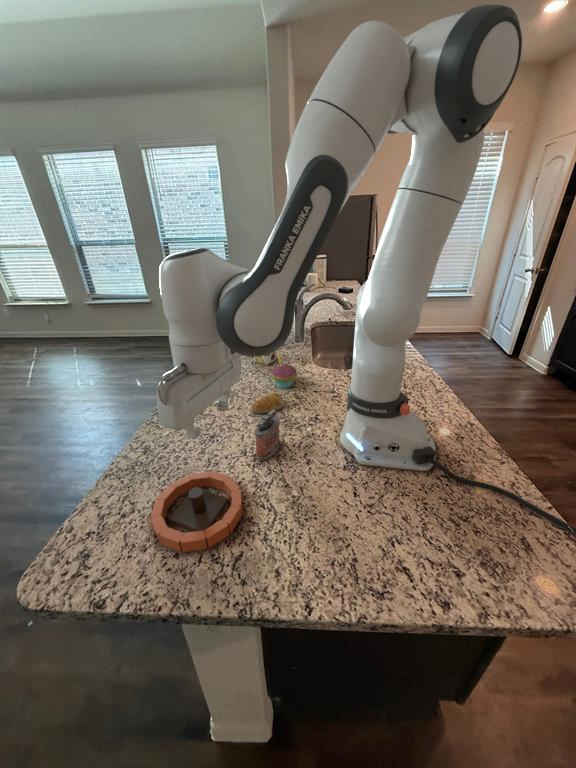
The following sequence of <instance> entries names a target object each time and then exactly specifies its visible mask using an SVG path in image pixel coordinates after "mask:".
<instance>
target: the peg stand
mask: <svg viewBox="0 0 576 768" xmlns="http://www.w3.org/2000/svg"><path fill="white" fill-rule="evenodd" d="M228 503H229V498H227V497H225V496H220V495H218V494H216V493H212V492H209V491H206V490H204V489H202V487H200V488H194V489H192V490H190V491H188V494H187V496H186V497H185V498H184V499H183V500H182V501H181V503H180V504H179V505H178V506H177V507H176V508H175V510H174V511H173V512H172V513H171V514H170V515H169V517H167V519H168V523H170V524H172V525H175V526H179V527H181V528H184V529H186V530H189V531H191V532H196V531H203V530H205V529H207V528H209V527H210V526H212V525H214V524H215V523H216V521H217V519H218V518H219V516H220V515H221V513H223V510H224V509H225V508H226V506H227V505H228Z"/></svg>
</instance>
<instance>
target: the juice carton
mask: <svg viewBox="0 0 576 768" xmlns="http://www.w3.org/2000/svg"><path fill="white" fill-rule="evenodd" d="M277 357H278V352H277V350H276V351H274V352H272V353H270V354H267V355H264V356H258V357H253V361H254V363H258V364H261V365H265V366H267V365H269V364H270V363H272V362H274V361H276V360H277Z"/></svg>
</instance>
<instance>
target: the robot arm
mask: <svg viewBox="0 0 576 768" xmlns="http://www.w3.org/2000/svg"><path fill="white" fill-rule="evenodd" d="M522 35H523V34H522V29H521V24H520V20H519V17H518V14H517V13H516V11H515V10H514V9H513V8H511V7H509V6H506V5H503V4H484V5H483V4H482V5H477V6H474V7H471V8H470V9H469V10H467V11H466V12H461V13H455V14H452V15H449V16H445V17H443V18H440V19H436V20H434V21H432V22H429V23H427V24H426V25H425V26H423V27H422V28H420V29H418V30H416V31H414V32H412V33H410V34H408V35H407V36H405V37H403V36H402V35H401V33H400V32H399V31H398V30H397V29H396V28H394V27H393V26H392V25H391V24H389V23H387V22H384V21H380V20H367V21H365V22H362V23H361V24H359V25H357V26H356V27H355V28H354V29H353V30H352V31H351V32H350V33H349V35H348V36H347V38H346V39H345V40H344V41H343V42H342V44H341V45H340V47H339V48H338V50H337V51H336V53H335V54H334V55H333V57H332V58H331V60H330V62H329V63H328V65H327V66H326V68H325V70H324V72H323V73H322V75H321V76H320V78H319V80H318V82H317V84H316V85H315V87H314V88H313V91H312V93H311V95H310V97H309V99H308V100H307V103H306V104H305V106H304V108H303V110H302V112H301V114H300V117H299V120H298V121H297V123H296V126H295V129H294V132H293V135H292V136H291V137H292V138H291V140H290V144H289V147H288V151H287V154H286V158H285V172H286V179H287V191H286V197H285V201H284V205H283V207H282V210H281V212H280V215H279V217H278V219H277V221H276V223H275V225H274V227H273V229H272V231H271V234H270V236H269V237H268V240H267V241H266V244H265V246H264V248H263V250H262V252H261V254H260V256H259V258H258V260H257V262H256V264H255V266H254V267H253V269H249V268H246V267H242V266H241V265H238V264H235V263H232V262H230V261H228V260H226V259H224V258H223V257H221V256H219V255H218V254H216V253H215V252H213V251H212V250H211V249H209V248H206V247H197V248H195V247H194V248H189V249H185V250H180V251H177V252H173V253H171V254H169V255H168V256H166V257H165V258H164V259H163V260H162V262H161V264H160V265H159V270H158V274H159V275H158V277H159V278H158V279H159V289H160V297H161V303H162V309H163V315H164V316H165V318H166V320H167V322H168V323H167V324H168V327H169V333H168V341H169V347H170V352H171V356H172V358H171V359H172V363H173V367H174V368H173V369H172V370H170V371H167V372H165V373H164V374H162V375H161V379H160V381H159V382H158V384H157V386H156V406H157V415H158V421H159V424H160V425H161V426H162V427H164V428H166V429H170V430H173V431H182V430H185V431H186V436H187V438H188V439H191V440H196V439H197V438H198V437H199V436H200V435H201V434H202V433H201V428H200V426H199V425H194V424H195V423H196V422H195V421H196V418H197V417H198V416H200V415H201V414H202V413H203V412H205V411H206V410H207V409H208V408H209V407H210V406H212V405H213V404H214V402H215V405H216V410H217V411H218V412H223V413H224V412H226V410H228V409H229V398H230V395H231V388H232V387H234V386H235V385H236V384H237V383H238V382H239V381H240V380H241V376H242V359H241V356H245V357H250V358H251V357H253V358H254V357H258V356H264V355H267V354H270V353H272V352H274V351H276V352H277V350H279V349H280V348H281V347H282V346H283V345H284V344H285V343H286V341H287V340H288V338H289V336H290V334H291V332H292V329H293V325H294V319H295V311H296V310H295V309H296V305H297V300H298V297H299V294H300V292H301V289H302V287H303V284H304V283H305V281H306V279H307V277H308V275H309V273H310V271H311V269H312V267H313V265H314V264H315V261H316V260H317V257H318V256H319V253H320V251H321V250H322V248H323V246H324V244H325V242H326V240H327V238H328V236H329V234H330V232H331V230H332V229H333V226H334V224H335V222H336V220H337V218H338V217H339V214H340V213H341V211H342V209H343V208H344V206H345V204H346V203H347V201H348V200H349V198H350V196H351V194H352V193H353V192H354V191H355V189H356V187H357V185H358V184H359V183H360V181H361V180H362V177H364V174H365V173H366V171H367V170H368V168H369V167H370V165H371V163H372V161H373V159H374V158H375V156H376V154H377V152H378V151H379V148H380V147H381V146H382V144H383V141H384V140H385V138H386V136H387V134H390V135H394V134H398V133H400V134H411V153H410V158H409V160H408V163H407V165H406V166H405V169H404V171H403V174H402V176H401V179H400V182H399V184H398V187H397V189H396V192H395V195H394V198H393V202H392V204H391V207H390V210H389V211H388V215H387V218H386V220H385V224H384V225H383V229H382V232H381V235H380V238H379V242H378V244H377V248H376V252H375V256H374V259H373V262H372V265H371V269H370V271H369V275H368V278H367V279H366V281H364V282H363V284H362V285H361V287H360V288H359V290H358V292H357V297H356V308H355V310H356V311H355V323H354V336H353V337H354V338H353V349H352V351H353V352H352V365H351V374H350V375H351V376H350V385H349V388H348V391H347V395H346V415H345V416H346V417H345V421H344V424H343V426H342V429H341V431H340V433H339V441H340V444H341V446H342V447H343V448H344V449H345V450H346V451H347V452H349V453H350V454H351V455H352V456H353V457H354V459H355V460H356V461H357V463H358V464H360V465H363V466H371V467H381V468H390V469H391V468H392V469H400V470H401V469H402V470H410V471H412V470H413V471H419V472H428V471H429V470H431V469H432V468H433V466H434V467H436V468H437V469H438V470H440V471H441V472H443V473H444V474H446V476H448V477H449V478H451V479H453V480H454V481H457V482H459V483H462V484H464V485H465V484H466V485H468V486H469V485H470V486H473V487H479V488H483V489H488V490H490V491H494V492H496V493H499V494H501V495H504V496H506V497H508V498H509V499H512V500H513V501H515V502H517V503H519V504H521V505H523V506H524V507H526V508H528V509H530V510H531V511H532V512H535V513H536V514H538V515H540V516H541V517H543V518H546V519H547V520H549V521H551V522H553V523H555V524H556V525H558V526H560V527H561V528H563V529H565V530H567V531H568V532H570V533H572V534H573V535H576V527H574V526H572V525H570V524H569V523H567V522H565V521H564V520H562V519H560V518H558V517H556V516H555V515H552V514H550V513H549V512H547V511H545V510H543V509H541V508H539V507H537V506H535V505H534V504H532V503H530V502H529V501H526V500H525V499H523V498H522V497H519V496H518V495H516V494H514V493H512V492H510V491H508V490H506V489H504V488H501V487H498V486H496V485H493V484H489V483H485V482H481V481H476V480H471V479H467V478H464V477H461V476H458V475H456V474H454V473H453V472H452V471H450V470H449V469H448V468H446V467H445V466H443V465H442V464H441V463H439V462H437V460H436V456H437V449H436V444H435V442H434V440H433V437H431V436H430V434H429V433H428V429H427V426H426V423H425V421H424V420H423V419H422V418H421V417H420V416H419V415H418V414H416V413H415V412H413V410H411V406H410V404H409V396H408V392H407V391H405V394H404V392H402V391H401V390H402V384H403V380H404V379H403V378H404V371H405V366H406V346H407V344H406V343H407V341H409V340H411V338H412V337H413V336H414V335H415V333H416V332H417V330H418V328H419V325H420V321H421V316H422V312H423V309H424V306H425V303H426V301H427V299H428V296H429V295H428V294H429V292H430V289H431V287H432V286H431V285H432V282H433V279H434V275H435V272H436V269H437V265H438V264H439V263H438V262H439V259H440V257H441V254H442V251H443V249H444V247H445V245H446V243H447V240H448V238H449V236H450V233H451V231H452V229H453V227H454V225H455V223H456V220H457V218H458V216H459V214H460V211H461V210H462V207H463V204H464V202H465V200H466V197H467V195H468V193H469V190H470V188H471V185H472V183H473V181H474V178H475V174H476V172H477V168H478V165H479V161H480V159H481V155H482V152H483V147H484V144H485V130H484V129H485V128H486V127H487V125H489V123H490V121H491V120H492V118H493V117H494V115H495V113H496V112H497V110H498V109H499V107H500V106H501V104H502V102H503V101H504V99H505V97H506V96H507V94H508V92H509V90H510V88H511V86H512V84H513V82H514V80H515V78H516V74H517V72H518V69H519V66H520V61H521V57H522V49H523V36H522ZM566 523H567V524H566ZM568 526H569V527H570V528H571V529H572V530H573V532H572V530H571V529H570V528H569V527H568ZM574 532H575V533H574Z"/></svg>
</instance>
